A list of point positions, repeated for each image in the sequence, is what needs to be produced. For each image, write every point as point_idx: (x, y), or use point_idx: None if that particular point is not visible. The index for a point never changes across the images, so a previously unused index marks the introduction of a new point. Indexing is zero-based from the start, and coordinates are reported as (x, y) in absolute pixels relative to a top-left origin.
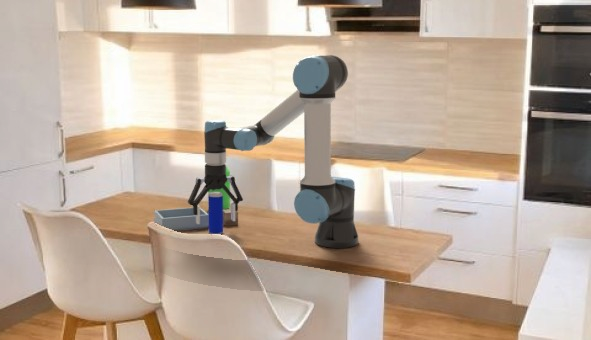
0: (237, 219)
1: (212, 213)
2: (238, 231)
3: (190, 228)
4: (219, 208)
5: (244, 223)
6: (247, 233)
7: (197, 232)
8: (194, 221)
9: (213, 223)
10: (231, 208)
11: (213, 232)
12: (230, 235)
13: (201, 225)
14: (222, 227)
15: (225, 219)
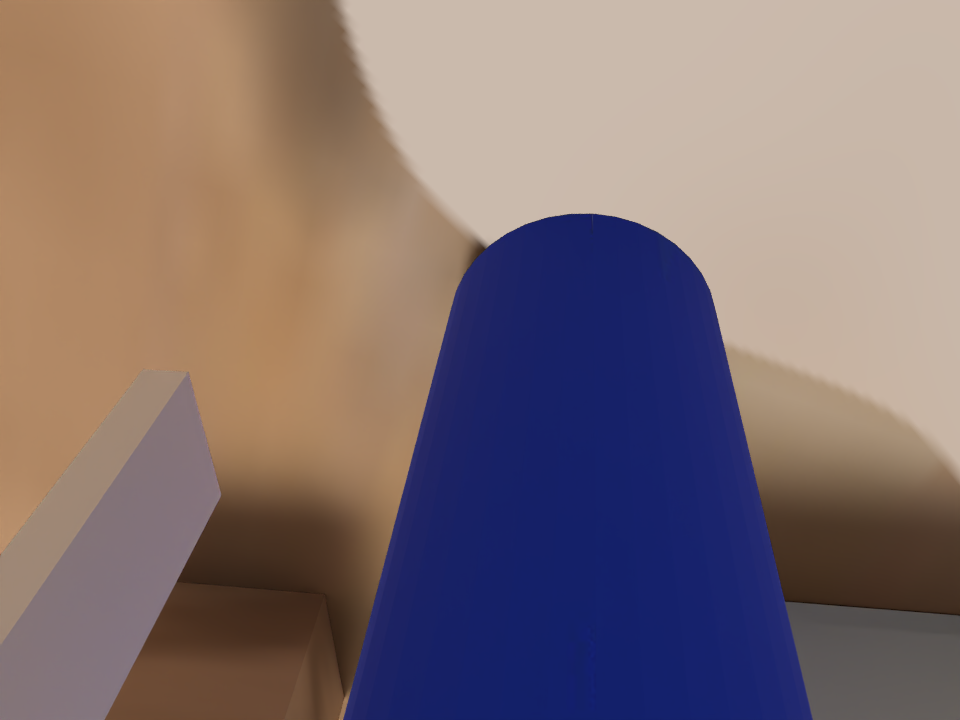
0: None
1: (749, 572)
2: (176, 285)
3: (856, 620)
4: (513, 661)
5: None
6: (17, 105)
7: (841, 463)
8: (815, 708)
9: (690, 360)
10: (93, 699)
11: (673, 251)
12: (361, 87)
13: None
14: (465, 307)
15: (299, 669)
